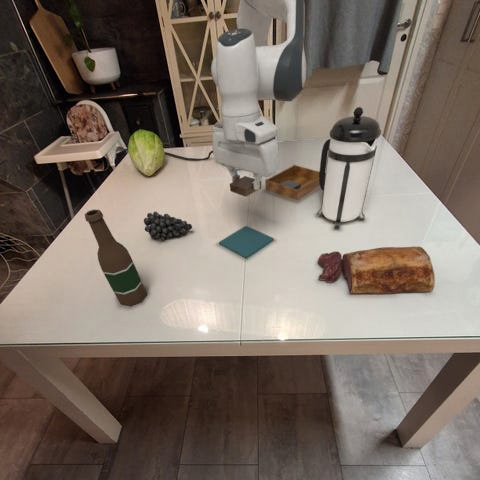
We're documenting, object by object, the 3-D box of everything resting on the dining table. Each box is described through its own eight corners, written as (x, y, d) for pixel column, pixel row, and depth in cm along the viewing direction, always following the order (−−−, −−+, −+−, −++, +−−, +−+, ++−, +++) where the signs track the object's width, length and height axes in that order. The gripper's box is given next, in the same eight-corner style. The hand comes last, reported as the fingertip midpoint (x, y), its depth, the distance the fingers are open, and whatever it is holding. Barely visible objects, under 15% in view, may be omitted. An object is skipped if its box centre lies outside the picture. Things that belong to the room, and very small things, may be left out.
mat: (219, 244, 92) (218, 242, 92) (246, 227, 97) (246, 225, 97) (246, 258, 86) (246, 256, 85) (273, 240, 91) (273, 238, 91)
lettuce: (171, 184, 137) (139, 193, 138) (166, 148, 146) (136, 157, 148) (158, 157, 124) (122, 168, 125) (154, 119, 133) (121, 129, 134)
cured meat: (311, 256, 84) (314, 235, 79) (402, 249, 83) (410, 227, 77) (324, 301, 72) (328, 279, 67) (431, 294, 70) (443, 271, 65)
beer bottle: (121, 289, 82) (78, 205, 64) (149, 285, 82) (114, 201, 64) (115, 308, 77) (67, 224, 59) (145, 305, 76) (106, 219, 59)
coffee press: (368, 208, 99) (395, 98, 77) (359, 233, 90) (387, 116, 68) (316, 201, 105) (327, 98, 83) (303, 224, 96) (312, 115, 73)
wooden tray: (265, 191, 114) (265, 180, 111) (293, 175, 121) (294, 164, 118) (297, 202, 106) (297, 190, 103) (325, 184, 113) (326, 173, 110)
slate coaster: (277, 190, 112) (277, 185, 111) (288, 185, 115) (288, 179, 113) (290, 195, 109) (290, 189, 107) (300, 189, 111) (300, 183, 110)
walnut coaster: (230, 191, 81) (229, 183, 80) (245, 183, 84) (245, 175, 82) (245, 196, 78) (245, 189, 76) (261, 188, 80) (261, 180, 79)
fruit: (189, 204, 92) (141, 207, 93) (188, 225, 89) (138, 228, 89) (194, 223, 100) (150, 226, 101) (193, 243, 97) (148, 246, 97)
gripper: (203, 124, 74) (211, 180, 84) (264, 136, 63) (266, 200, 73) (221, 117, 77) (228, 173, 87) (283, 128, 66) (282, 190, 76)
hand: (245, 185), depth 80 cm, fingers closed on walnut coaster, 6 cm apart
